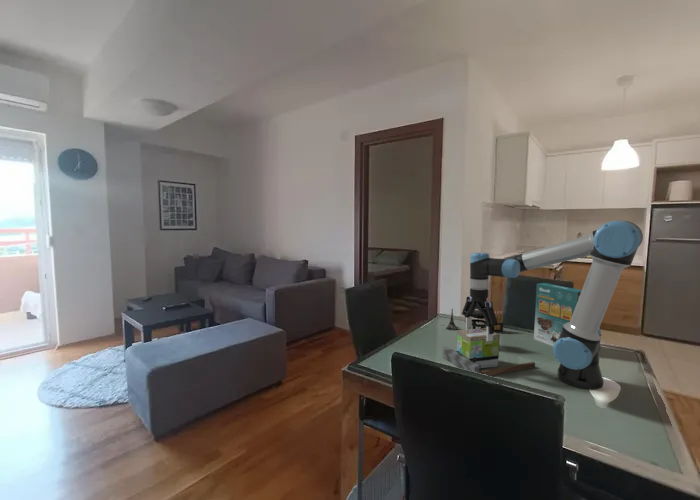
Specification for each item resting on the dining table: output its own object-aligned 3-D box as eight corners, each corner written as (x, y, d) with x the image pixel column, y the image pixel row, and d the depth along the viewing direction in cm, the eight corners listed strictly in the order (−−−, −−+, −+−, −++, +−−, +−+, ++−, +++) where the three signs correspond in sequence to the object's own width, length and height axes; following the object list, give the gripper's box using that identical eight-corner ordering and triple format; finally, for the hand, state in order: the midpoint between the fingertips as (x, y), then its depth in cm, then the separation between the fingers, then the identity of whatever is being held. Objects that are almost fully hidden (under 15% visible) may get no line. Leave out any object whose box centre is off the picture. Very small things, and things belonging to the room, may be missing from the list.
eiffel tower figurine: (466, 334, 192) (466, 310, 191) (448, 334, 191) (449, 311, 190) (456, 325, 207) (456, 304, 206) (439, 325, 206) (440, 304, 205)
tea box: (469, 371, 144) (470, 337, 143) (455, 361, 154) (456, 329, 152) (499, 366, 148) (500, 333, 147) (483, 357, 158) (485, 326, 157)
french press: (483, 340, 179) (484, 298, 177) (492, 347, 170) (494, 302, 168) (461, 341, 178) (462, 298, 176) (469, 348, 169) (471, 303, 167)
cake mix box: (582, 352, 164) (586, 291, 161) (573, 354, 162) (577, 292, 159) (542, 337, 184) (544, 282, 182) (533, 339, 182) (536, 283, 179)
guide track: (534, 367, 148) (535, 356, 147) (474, 378, 138) (475, 366, 137) (497, 348, 169) (497, 338, 168) (442, 357, 159) (442, 346, 158)
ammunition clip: (501, 330, 196) (502, 310, 195) (503, 331, 194) (503, 310, 193) (483, 331, 195) (484, 310, 194) (485, 332, 193) (485, 311, 192)
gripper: (507, 292, 138) (507, 344, 139) (467, 283, 161) (467, 327, 163) (492, 294, 135) (492, 346, 137) (454, 284, 159) (454, 328, 160)
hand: (478, 336), depth 150 cm, fingers open, 13 cm apart
